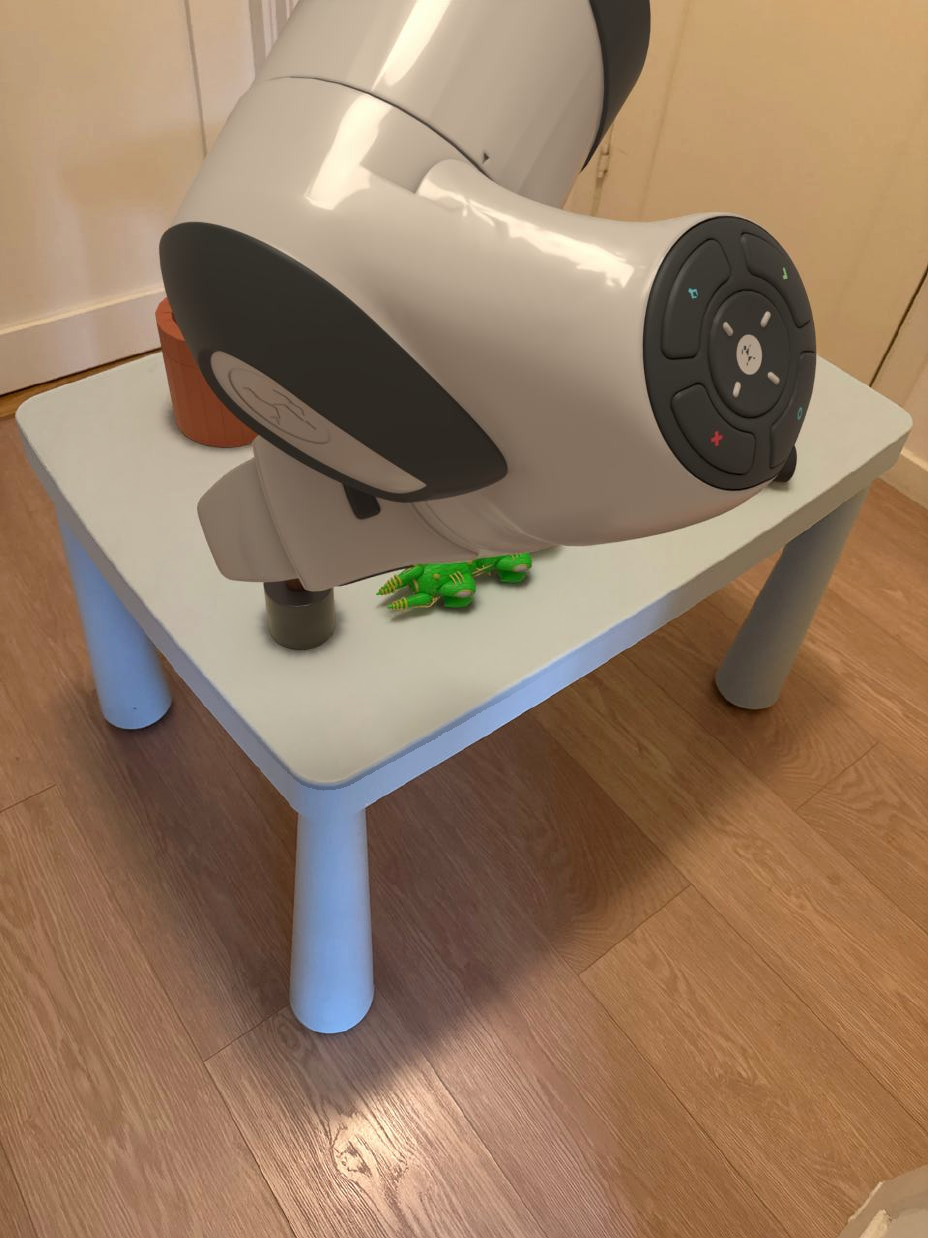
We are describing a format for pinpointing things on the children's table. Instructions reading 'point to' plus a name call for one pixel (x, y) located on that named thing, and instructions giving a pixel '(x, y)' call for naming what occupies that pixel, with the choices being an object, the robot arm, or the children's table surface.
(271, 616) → the rod on round base
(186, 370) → the terracotta flower pot
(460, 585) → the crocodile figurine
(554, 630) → the children's table surface
